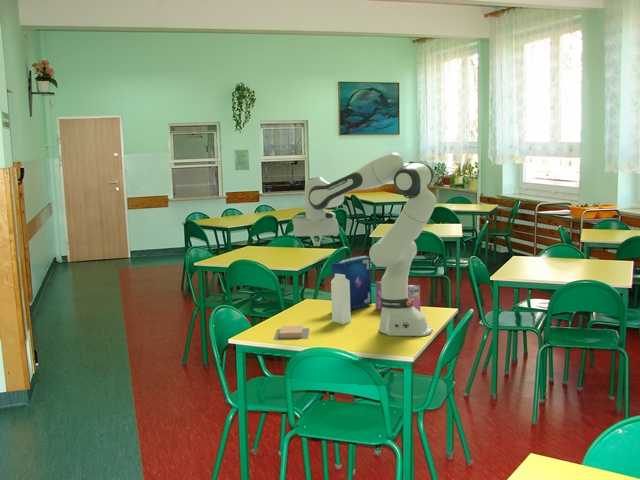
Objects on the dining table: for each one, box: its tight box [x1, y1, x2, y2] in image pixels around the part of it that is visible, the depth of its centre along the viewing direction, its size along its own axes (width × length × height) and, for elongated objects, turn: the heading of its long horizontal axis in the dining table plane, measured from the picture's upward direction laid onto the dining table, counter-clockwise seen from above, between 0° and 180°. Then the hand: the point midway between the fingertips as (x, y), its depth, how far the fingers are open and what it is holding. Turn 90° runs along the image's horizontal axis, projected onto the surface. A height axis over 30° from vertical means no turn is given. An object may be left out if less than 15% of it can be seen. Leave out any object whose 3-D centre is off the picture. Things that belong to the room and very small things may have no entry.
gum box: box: [374, 281, 421, 312], centre depth 309 cm, size 24×8×14 cm, turn 40°
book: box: [331, 255, 373, 311], centre depth 318 cm, size 22×7×25 cm, turn 132°
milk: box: [330, 274, 352, 326], centre depth 290 cm, size 6×6×22 cm
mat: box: [273, 327, 310, 341], centre depth 272 cm, size 17×14×1 cm
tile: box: [280, 325, 304, 338], centre depth 271 cm, size 2×9×12 cm
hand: (316, 245), depth 287 cm, fingers closed
